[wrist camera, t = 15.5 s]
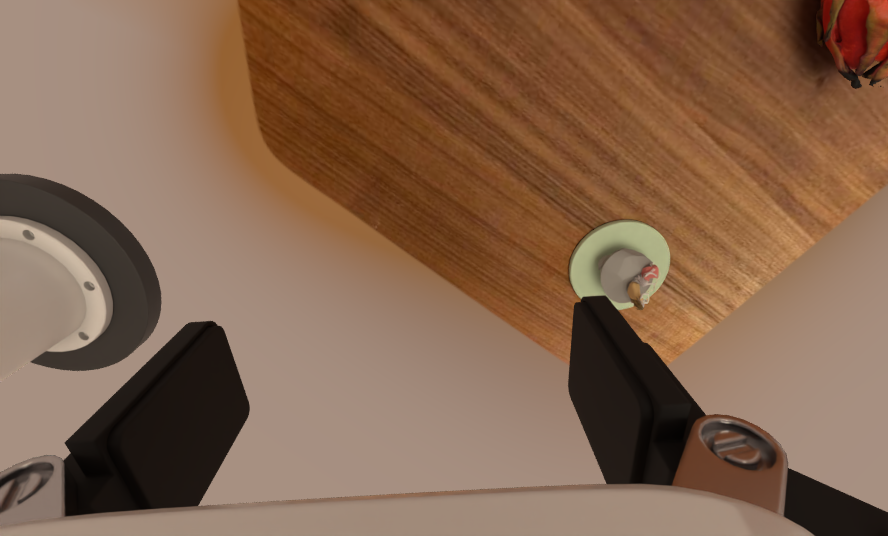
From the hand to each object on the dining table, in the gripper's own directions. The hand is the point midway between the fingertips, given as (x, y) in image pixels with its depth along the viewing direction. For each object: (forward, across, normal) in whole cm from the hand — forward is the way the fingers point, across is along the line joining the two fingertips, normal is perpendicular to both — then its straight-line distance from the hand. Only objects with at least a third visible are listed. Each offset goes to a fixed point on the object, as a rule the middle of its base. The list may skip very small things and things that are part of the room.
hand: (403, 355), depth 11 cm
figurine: (+23, -16, +9) cm, 29 cm away
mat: (+23, -16, +9) cm, 30 cm away
